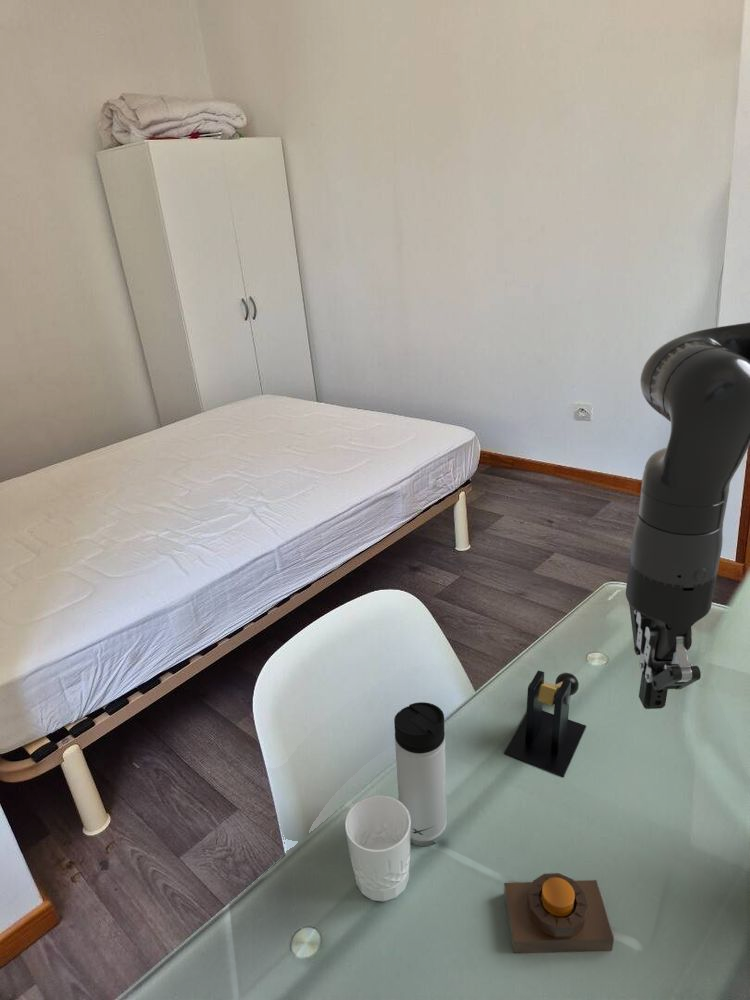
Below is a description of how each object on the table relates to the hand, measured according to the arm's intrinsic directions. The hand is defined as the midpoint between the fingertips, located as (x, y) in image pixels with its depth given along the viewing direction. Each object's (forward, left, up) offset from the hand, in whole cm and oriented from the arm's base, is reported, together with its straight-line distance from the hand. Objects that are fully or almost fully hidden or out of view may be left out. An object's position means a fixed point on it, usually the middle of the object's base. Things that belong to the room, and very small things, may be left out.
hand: (651, 703), depth 71 cm
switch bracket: (-5, -23, -29) cm, 37 cm away
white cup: (+26, -14, -29) cm, 41 cm away
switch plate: (+10, 0, -29) cm, 31 cm away
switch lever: (-8, -25, -23) cm, 35 cm away
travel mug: (+18, -18, -29) cm, 39 cm away
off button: (+10, 0, -25) cm, 27 cm away
